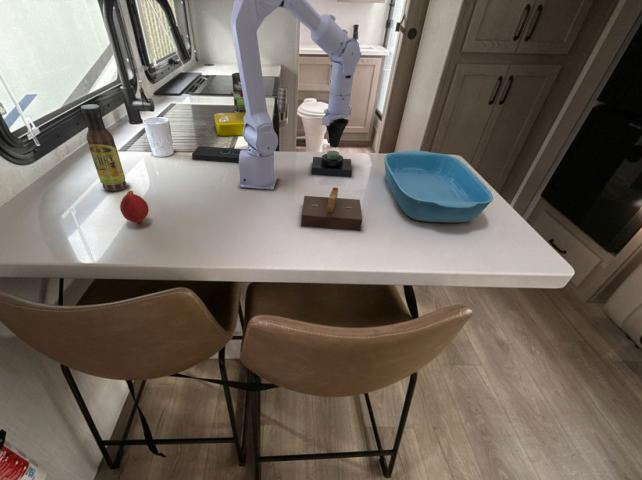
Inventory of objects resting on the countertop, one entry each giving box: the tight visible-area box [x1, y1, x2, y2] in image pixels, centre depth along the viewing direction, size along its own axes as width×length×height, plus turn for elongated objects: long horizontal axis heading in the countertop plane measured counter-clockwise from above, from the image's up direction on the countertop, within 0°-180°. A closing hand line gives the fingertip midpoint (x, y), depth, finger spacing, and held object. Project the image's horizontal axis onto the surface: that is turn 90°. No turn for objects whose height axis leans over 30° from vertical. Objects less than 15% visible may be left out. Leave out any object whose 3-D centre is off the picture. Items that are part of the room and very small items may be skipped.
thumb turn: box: [327, 186, 339, 212], centre depth 78 cm, size 6×1×4 cm, turn 164°
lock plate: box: [300, 195, 363, 232], centre depth 81 cm, size 14×10×3 cm
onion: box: [119, 189, 150, 224], centre depth 75 cm, size 6×6×8 cm
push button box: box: [310, 153, 353, 178], centre depth 102 cm, size 12×9×4 cm
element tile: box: [213, 112, 246, 137], centre depth 129 cm, size 15×15×5 cm
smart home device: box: [191, 145, 247, 164], centre depth 109 cm, size 8×2×20 cm
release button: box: [326, 150, 340, 160], centre depth 101 cm, size 4×4×2 cm
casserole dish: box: [384, 150, 494, 223], centre depth 89 cm, size 37×22×7 cm, turn 179°
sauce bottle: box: [80, 103, 127, 192], centre depth 84 cm, size 6×6×20 cm
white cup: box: [142, 116, 175, 158], centre depth 107 cm, size 8×8×10 cm
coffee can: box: [231, 72, 246, 113], centre depth 145 cm, size 10×10×14 cm
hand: (333, 146), depth 99 cm, fingers closed
